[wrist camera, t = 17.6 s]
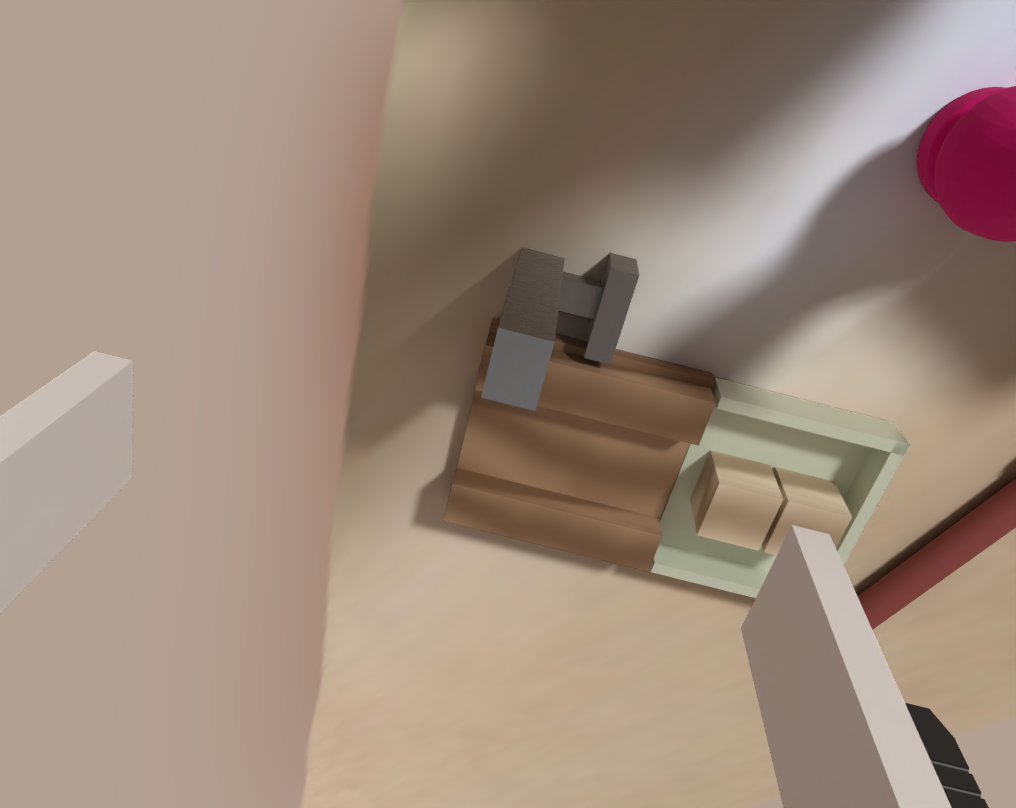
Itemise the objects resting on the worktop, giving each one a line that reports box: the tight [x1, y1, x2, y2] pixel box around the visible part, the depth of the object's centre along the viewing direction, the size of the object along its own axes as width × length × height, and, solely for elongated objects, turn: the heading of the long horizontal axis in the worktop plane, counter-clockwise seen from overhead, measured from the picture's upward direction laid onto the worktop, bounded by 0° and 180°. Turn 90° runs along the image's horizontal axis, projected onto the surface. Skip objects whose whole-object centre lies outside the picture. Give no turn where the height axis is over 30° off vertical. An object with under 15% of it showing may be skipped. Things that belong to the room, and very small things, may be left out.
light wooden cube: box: [762, 467, 852, 556], centre depth 50 cm, size 4×4×4 cm
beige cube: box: [690, 450, 784, 551], centre depth 50 cm, size 4×4×4 cm
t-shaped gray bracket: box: [481, 248, 639, 411], centre depth 42 cm, size 6×7×13 cm
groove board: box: [444, 318, 716, 571], centre depth 51 cm, size 14×14×3 cm
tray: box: [650, 377, 910, 598], centre depth 51 cm, size 14×12×3 cm
